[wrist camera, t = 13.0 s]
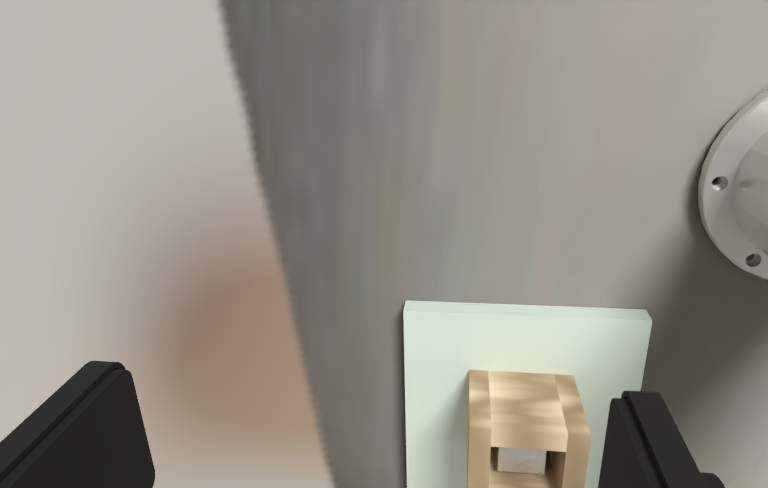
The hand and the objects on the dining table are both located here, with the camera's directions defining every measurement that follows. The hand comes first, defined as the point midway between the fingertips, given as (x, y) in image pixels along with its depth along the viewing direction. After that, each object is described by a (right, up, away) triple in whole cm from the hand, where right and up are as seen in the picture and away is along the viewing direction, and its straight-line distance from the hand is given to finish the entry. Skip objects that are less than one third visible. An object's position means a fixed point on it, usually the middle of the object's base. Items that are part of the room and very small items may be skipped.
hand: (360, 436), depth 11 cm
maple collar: (+10, -8, +29) cm, 32 cm away
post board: (+10, -8, +30) cm, 33 cm away
